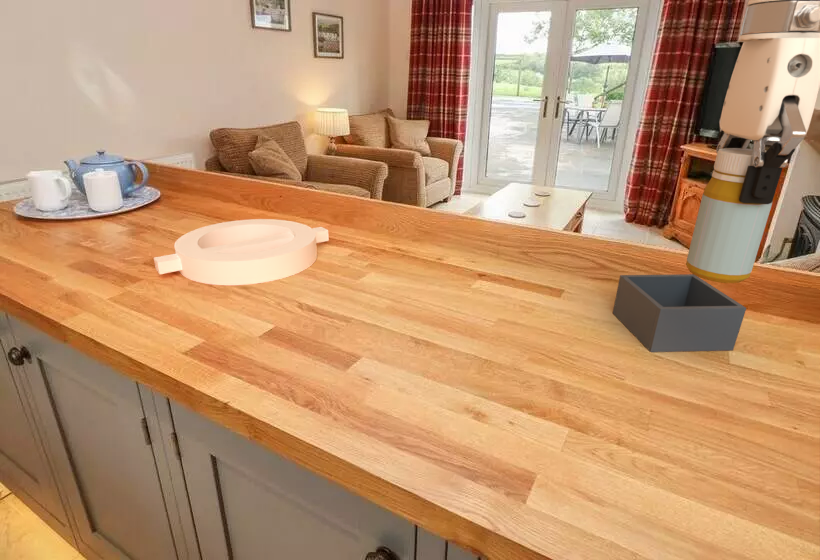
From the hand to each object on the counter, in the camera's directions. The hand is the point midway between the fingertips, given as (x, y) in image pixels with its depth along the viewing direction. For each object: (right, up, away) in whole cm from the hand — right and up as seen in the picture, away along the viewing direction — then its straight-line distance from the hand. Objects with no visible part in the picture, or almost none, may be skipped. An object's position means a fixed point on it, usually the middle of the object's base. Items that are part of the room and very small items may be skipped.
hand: (738, 193), depth 58 cm
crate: (+2, -18, +20) cm, 27 cm away
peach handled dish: (-73, -6, +47) cm, 87 cm away
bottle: (0, -10, +4) cm, 10 cm away
